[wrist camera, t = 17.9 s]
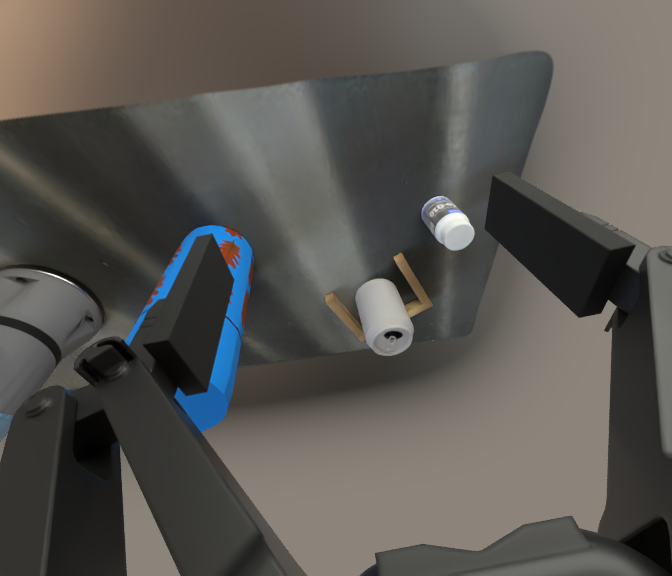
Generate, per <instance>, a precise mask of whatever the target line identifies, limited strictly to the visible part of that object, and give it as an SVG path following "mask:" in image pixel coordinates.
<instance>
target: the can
mask: <svg viewBox="0 0 672 576" xmlns="http://www.w3.org/2000/svg"><path fill="white" fill-rule="evenodd" d="M355 300H356V304H357V308H358V312H359V316H360V320H361V324H362V328H363V332H364V336H365V339H366V343H367V344H368V345H369V346H370V348H372V349H373V350H374V351H375V352H376V353H378V354H380V355H384V356H389V355H390V356H391V355H396V354H399V353H401V352H403V351H404V350H406V349H407V348H408V347H409V346H410V344H411V343H412V339H413V337H412V336H413V332H414V329H413V325H412V322H411V320H410V318H409V315H408V313H407V311H406V309H405V306H404V304H403V302H402V299H401V297H400V295H399V293H398V290H397V288H396V286H395V285H394V284H393V283H392V282H391V281H389V280H386V279H374V280H370V281H368V282H366V283H364V284H363V285H362V286H361V287H360V288H359V289H358V291H357V293H356V297H355Z"/></svg>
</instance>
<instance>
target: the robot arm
mask: <svg viewBox="0 0 672 576" xmlns="http://www.w3.org/2000/svg"><path fill="white" fill-rule="evenodd" d="M485 230H486V231H488V232H489V233H490V234H491V235H492V236H493V237H494V238H495V239H496V240H497V241H498V242H499V243H500V244H501V245H502V246H503V247H504V248H506V249H507V250H508V251H509V252H510V253H511V254H512V255H513V256H514V257H515V258H516V259H517V260H518V261H519V262H520V263H522V264H523V265H524V266H525V267H526V268H527V269H528V270H529V271H530V272H531V273H532V274H533V275H534V276H535V277H536V278H537V279H538V280H539V281H541V282H542V283H543V284H544V285H545V286H546V287H547V288H548V289H549V290H550V291H551V292H552V293H553V294H554V295H555V296H557V298H559V299H560V300H561V301H562V302H563V303H564V304H565V305H566V306H567V307H568V308H569V309H570V310H571V311H572V312H573V313H574V314H576V315H577V316H578V317H579V318H580V317H585V316H590V315H595V314H600V313H601V312H602V310H603V309H604V306H605V305H606V302H607V301H608V300H610V301H611V302H612V303H613V304H614V305H616V306H617V308H616V310H615V311H614V313H613V315H612V317H611V319H610V320H609V322H608V324H607V326H606V328H605V330H604V331H606V332H608V331H609V329H610V328H612V351H611V352H612V353H611V383H610V413H609V415H610V416H609V445H608V475H607V477H608V479H607V501H606V506H605V510H604V513H603V515H602V518H601V520H600V524H599V528H598V533H596V532H592V531H588V530H584V529H580V528H579V527H578V525H577V524H576V522H575V520H574V519H573V517H572V516H567V517H562V518H556V519H551V520H546V521H541V522H536V523H530V524H525V525H522V526H521V527H519V528H517V529H516V530H514V531H513V532H511V533H509V534H508V535H506V536H504V537H503V538H501V539H499V540H498V541H496V542H495V543H493V544H491V545H490V546H488V547H487V548H485V549H483V550H481V551H469V550H462V549H455V548H447V547H441V546H433V545H426V544H420V545H415V546H410V547H404V548H399V549H395V550H389V551H384V552H379V553H375V557H376V564H375V565H373V566H371V567H370V568H368V569H367V570H366V571H364V572H363V573H362V574H361V575H360V576H672V246H659V247H653V248H652V247H650V246H648V245H646V244H645V243H643V242H641V241H639V240H637V239H636V238H633V237H632V236H630V235H628V234H627V233H625V232H623V231H621V230H620V231H619V230H618V228H616V227H614V226H612V225H609V224H608V223H607V222H605V221H603V220H602V219H600V218H598V217H596V216H592V215H589V214H586V213H582V212H578V211H576V210H575V209H573V208H571V207H569V206H567V205H566V204H564V203H562V202H561V201H559V200H557V199H555V198H553V197H552V196H550V195H549V194H547V193H545V192H543V191H541V190H540V189H538V188H536V187H535V186H533V185H531V184H529V183H527V182H526V181H524V180H522V179H521V178H519V177H517V176H516V175H514V174H512V173H510V172H506V173H501V174H496V175H493V176H492V183H491V190H490V196H489V203H488V209H487V216H486V223H485ZM233 284H234V278H233V276H232V274H231V271H230V269H229V267H228V265H227V263H226V261H225V259H224V257H223V254H222V252H221V250H220V248H219V246H218V244H217V242H216V240H215V237H214V235H213V233H211V234H207V235H202V236H197V237H196V238H195V240H194V242H193V244H192V246H191V248H190V250H189V252H188V254H187V256H186V258H185V260H184V263H183V265H182V267H181V269H180V271H179V273H178V275H177V277H176V279H175V281H174V283H173V285H172V287H171V289H170V291H169V293H168V295H167V297H166V298H163V299H159V300H158V301H157V302H156V303H155V304H154V305H153V306H152V307H151V308H150V309H149V310H148V312H147V313H146V315H145V317H144V321H142V323H141V325H140V326H139V329H138V330H137V332H136V334H135V336H134V337H133V339H132V341H131V343H130V345H129V346H128V345H127V344H126V343H125V341H124V340H123V339H121V338H120V337H108V338H105V339H102V340H100V341H98V342H96V343H94V344H92V345H91V346H90V347H88V348H87V349H85V350H84V351H83V352H82V353H81V354H80V355H79V356H78V358H77V360H76V361H75V363H74V370H75V371H76V372H77V373H78V374H80V375H81V376H82V377H83V378H84V379H85V380H86V381H88V382H89V383H90V385H87V386H85V387H83V388H81V389H78V390H76V391H74V392H71V393H70V392H69V391H67V390H66V389H65V388H63V387H61V386H59V385H58V386H51V387H48V388H45V389H43V390H41V391H39V390H40V388H41V387H42V386H43V384H44V383H45V381H46V380H47V379H48V377H49V376H50V374H51V373H52V372H53V370H54V369H55V367H56V366H57V365H58V363H59V362H60V361H61V360H62V359H63V358H64V357H66V356H67V355H69V354H70V353H71V352H73V351H74V350H76V349H77V348H79V347H80V346H81V345H83V344H84V343H86V342H87V341H89V340H90V339H91V338H92V337H93V336H94V335H95V334H96V333H97V332H98V330H99V329H100V327H101V326H102V324H103V322H104V310H103V307H102V305H101V303H100V301H99V300H98V298H97V297H96V296H95V295H94V294H93V293H92V292H91V291H90V290H89V289H88V288H87V287H85V286H84V285H83V284H81V283H80V282H78V281H77V280H75V279H73V278H71V277H69V276H67V275H65V274H63V273H60V272H58V271H55V270H52V269H48V268H44V267H40V266H33V265H12V266H7V267H3V268H1V269H0V441H1V440H2V439H3V438H4V437H5V436H6V434H7V433H8V436H7V439H6V443H5V447H4V451H3V455H2V458H1V462H0V576H127V570H126V552H125V536H124V535H125V534H124V515H123V499H122V498H123V497H122V480H121V462H120V445H121V447H122V450H123V452H124V454H125V456H126V458H127V460H128V463H129V464H130V467H131V469H132V471H133V473H134V475H135V478H136V480H137V482H138V484H139V486H140V489H141V491H142V493H143V495H144V497H145V499H146V502H147V504H148V506H149V508H150V510H151V512H152V514H153V517H154V519H155V521H156V523H157V525H158V528H159V530H160V532H161V534H162V536H163V538H164V541H165V543H166V545H167V547H168V549H169V551H170V554H171V556H172V558H173V560H174V562H175V564H176V566H177V569H178V571H179V573H180V575H181V576H307V575H306V574H305V572H304V571H303V570H302V569H301V567H300V566H299V565H298V564H297V562H296V561H295V560H294V559H293V557H292V556H291V555H290V553H289V552H288V550H287V549H286V548H285V546H284V545H283V543H282V542H281V541H280V539H279V538H278V537H277V535H276V534H275V533H274V531H273V530H272V528H271V527H270V526H269V524H268V523H267V522H266V521H265V519H264V518H263V516H262V515H261V513H260V512H259V511H258V509H257V508H256V507H255V506H254V504H253V503H252V501H251V500H250V499H249V497H248V496H247V494H246V493H245V492H244V490H243V489H242V488H241V486H240V485H239V484H238V482H237V481H236V479H235V478H234V477H233V475H232V474H231V473H230V471H229V470H228V469H227V467H226V466H225V465H224V463H223V462H222V460H221V459H220V458H219V456H218V455H217V454H216V452H215V451H214V449H213V448H212V447H211V445H210V444H209V443H208V441H207V440H206V439H205V437H204V436H203V435H202V433H201V432H200V430H199V429H198V428H197V426H196V425H195V424H194V422H193V421H192V419H191V418H190V417H189V415H188V414H187V413H186V411H185V410H184V409H183V407H182V406H181V404H180V403H179V402H178V401H177V400H176V398H175V394H176V391H177V388H178V387H179V389H180V390H181V391H182V392H183V393H184V395H185V396H190V395H195V394H200V393H205V392H207V391H208V387H209V383H210V379H211V375H212V371H213V366H214V362H215V358H216V354H217V350H218V346H219V342H220V338H221V333H222V329H223V325H224V321H225V317H226V313H227V309H228V305H229V300H230V296H231V292H232V288H233ZM38 391H39V392H38Z"/></svg>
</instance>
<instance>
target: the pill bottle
mask: <svg viewBox="0 0 672 576" xmlns="http://www.w3.org/2000/svg"><path fill="white" fill-rule="evenodd" d="M422 219H423V221H424V223H425V224H426V225H427V227H428V228H429V229H430V231H431V232H432V234H433V235H434V236H435V238H436V239H437V240H438V241H439V242H440V243H442V244H444V245H445V246H446V247H447V248H448V249H450V250H454V251H455V250H460V249H463V248H465V247H466V246H468V245H469V244H470V243H471V241H472V240H473V238H474V229H473V227H472V226H471V225H470V223H469V220H468V218H467V216H466V215H465V214H464V213H463V212H461V211H460V210H459V209H458V207H456V206H455V205H454V204H453V203H452V202H451V201H450V200H449V199H448V198H446V197H443V196H439V197H435V198H432V199H431V200H429V201H428V202H427V203H426V204H425V205H424V207H423V209H422Z"/></svg>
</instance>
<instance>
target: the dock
mask: <svg viewBox="0 0 672 576" xmlns="http://www.w3.org/2000/svg"><path fill="white" fill-rule="evenodd" d="M393 258H394V260H395V262H396V264H397V265H398V267H399V269H400V270H401V272H402V273H403V275H404V277H405V278H406V280H407V281H408V283H409V284H410V286H411V288H412V289H413V291H414V292H415V294H416V296H417V297H418V299H416V300H414V301H412V302H410V303H408V304H406V305H404V306H405V309H406V311H407V313H408V315H409V318H410V317H412V316H414V315H416V314H418V313H420V312H422V311H424V310H426V309H427V308H429V307H431V306H433V305H432V303H431V301H430V300H429V298H428V296H427V295H426V293H425V291H424V289H423V288H422V286H421V284H420V283H419V281H418V279H417V278H416V276H415V274H414V273H413V271H412V269H411V268H410V266H409V264H408V263H407V261H406V259H405V258H404V256H403V254H402V253H400V254H398V255H396V256H394V257H393ZM325 298H326V304H327V305H328V306H329V307H330V308H331V309H332V310H333V311H334V313H335V314H336V315H337V316H338V317H339V318H340V319H341V320H342V321H343V322H344V323H345V324H346V326H347V327H348V328H349V329H350V330H351V331H352V332H353V333H354V334H355V335H356V336H357V337H358V338H359V340H360V341H361V342H363V341H365V340H366V339H365V336H364V332H363V328H362V326H361V325H360V323H359V322H358V321H357V320H356V319H355V318H354V317H353V315H352V314H351V313H350V312H349V311H348V310H347V309H346V307H345V306H344V305H343V304H342V303H341V302H340V301H339V299H338V298H337V297H336V296H335V295H334V294H333V293H330V294H328V295H326V296H325Z"/></svg>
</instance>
